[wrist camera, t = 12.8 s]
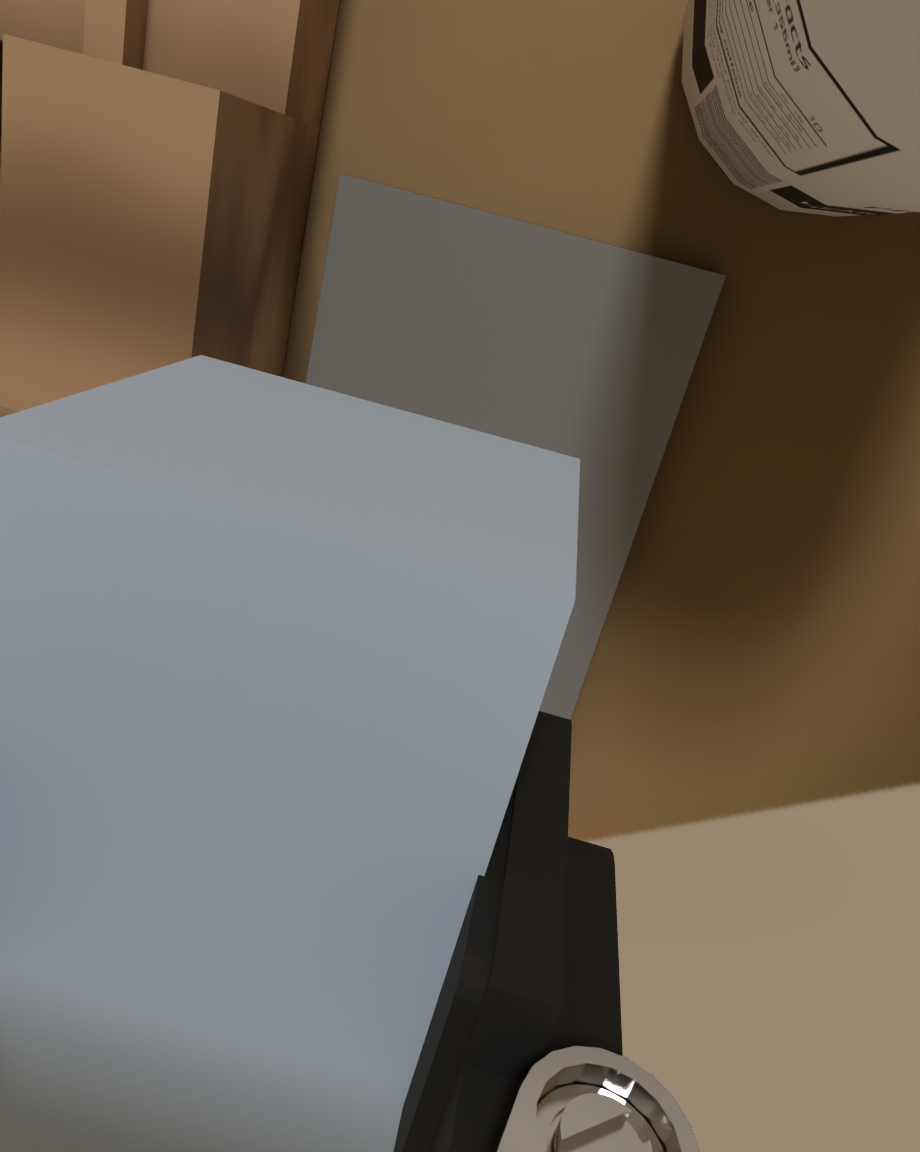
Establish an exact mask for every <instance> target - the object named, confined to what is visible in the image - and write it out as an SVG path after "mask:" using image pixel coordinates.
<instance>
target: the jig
mask: <svg viewBox="0 0 920 1152" xmlns="http://www.w3.org/2000/svg"><path fill="white" fill-rule="evenodd" d="M339 1H340V0H0V44H2V45H3V66H2V131H1V197H0V417H4V416H7V415H10V414H13V413H16V412H20V411H23V410H26V409H29V408H32V407H36V406H39V405H42V404H45V403H48V402H52V401H55V400H58V399H61V398H64V397H68V396H71V395H74V394H77V393H80V392H84V391H87V390H90V389H93V388H96V387H100V386H103V385H106V384H109V383H113V382H116V381H119V380H122V379H125V378H129V377H132V376H135V375H138V374H141V373H145V372H148V371H151V370H154V369H157V368H161V367H164V366H167V365H170V364H173V363H177V362H180V361H183V360H186V359H189V358H193V357H196V356H199V355H203V356H207V357H211V358H214V359H218V360H222V361H225V362H229V363H233V364H236V365H240V366H243V367H247V368H251V369H254V370H258V371H262V372H265V373H269V374H273V375H276V376H280V377H282V374H283V368H284V361H285V355H286V348H287V341H288V335H289V328H290V322H291V315H292V309H293V302H294V296H295V289H296V282H297V276H298V269H299V263H300V256H301V250H302V243H303V237H304V230H305V224H306V217H307V210H308V204H309V197H310V191H311V184H312V178H313V171H314V165H315V158H316V151H317V145H318V138H319V132H320V125H321V119H322V112H323V106H324V99H325V93H326V86H327V79H328V73H329V66H330V60H331V53H332V47H333V40H334V34H335V27H336V21H337V14H338V7H339Z"/></svg>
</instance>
